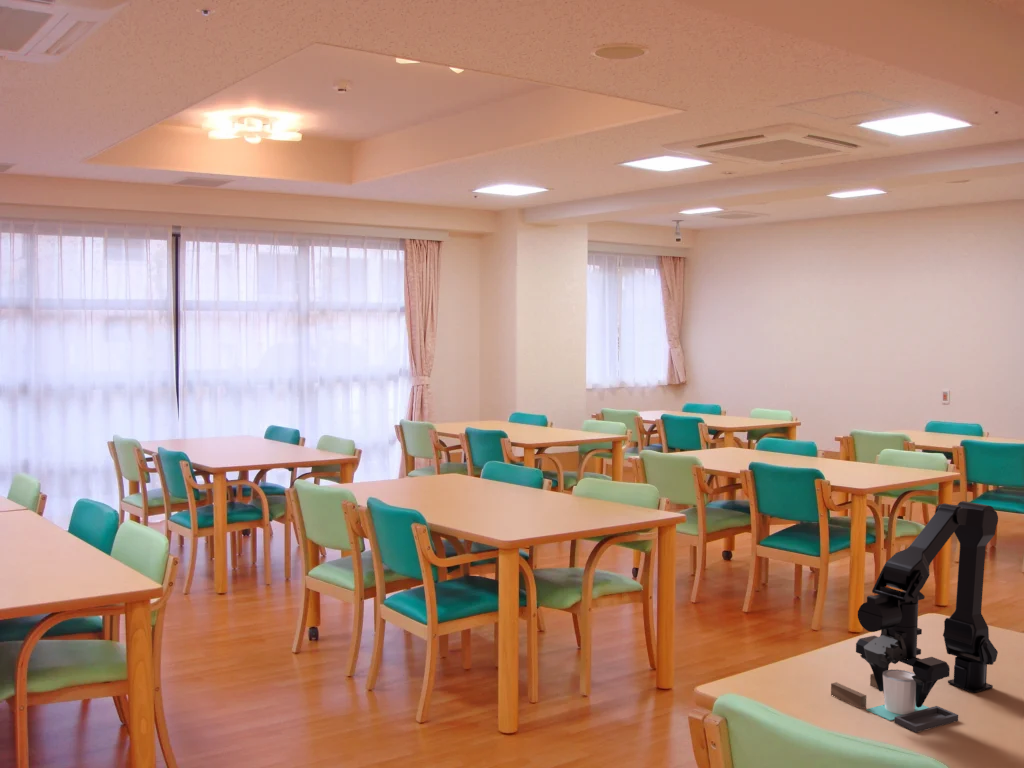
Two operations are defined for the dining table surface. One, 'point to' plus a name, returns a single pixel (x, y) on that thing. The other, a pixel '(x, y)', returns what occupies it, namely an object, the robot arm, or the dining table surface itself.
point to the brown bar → (851, 693)
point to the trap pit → (926, 719)
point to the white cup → (899, 691)
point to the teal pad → (887, 714)
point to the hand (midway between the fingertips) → (899, 698)
